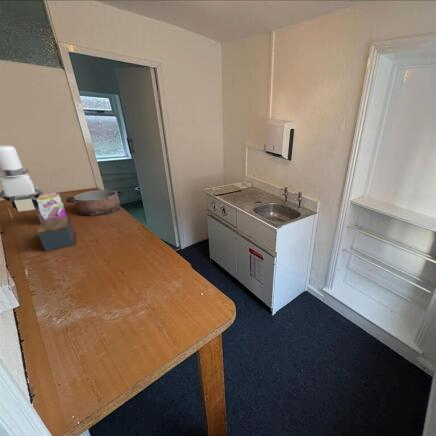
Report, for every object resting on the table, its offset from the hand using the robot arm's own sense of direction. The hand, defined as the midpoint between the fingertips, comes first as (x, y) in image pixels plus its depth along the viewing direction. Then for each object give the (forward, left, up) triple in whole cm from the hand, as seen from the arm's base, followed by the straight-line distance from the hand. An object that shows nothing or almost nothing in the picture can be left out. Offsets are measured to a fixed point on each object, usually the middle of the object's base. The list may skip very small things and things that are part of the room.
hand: (27, 207), depth 118 cm
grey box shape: (+9, -16, -15) cm, 24 cm away
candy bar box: (+5, +17, -16) cm, 24 cm away
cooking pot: (+27, +25, -16) cm, 40 cm away
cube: (0, 0, -1) cm, 1 cm away
